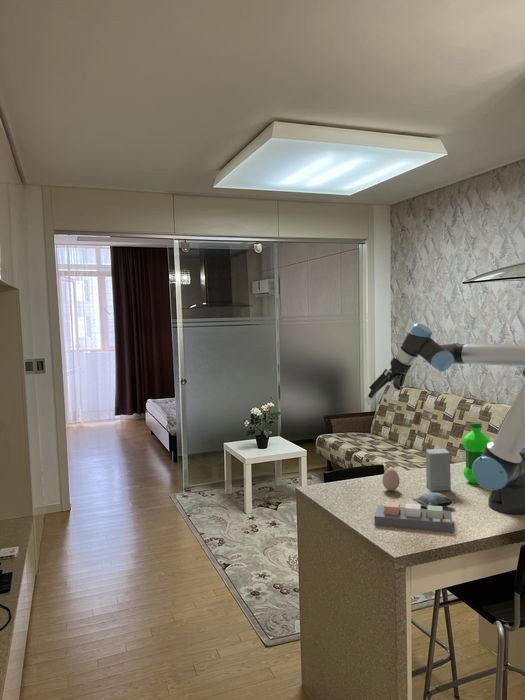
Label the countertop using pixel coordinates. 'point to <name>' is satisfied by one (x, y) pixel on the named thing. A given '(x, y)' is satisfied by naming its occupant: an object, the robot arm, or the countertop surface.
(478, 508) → the countertop surface
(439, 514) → the sage key
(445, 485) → the skincare box
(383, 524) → the keypad board
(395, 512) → the terracotta key
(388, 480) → the egg
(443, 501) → the packaged food
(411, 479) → the countertop surface
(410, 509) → the cream key
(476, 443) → the plastic bottle
